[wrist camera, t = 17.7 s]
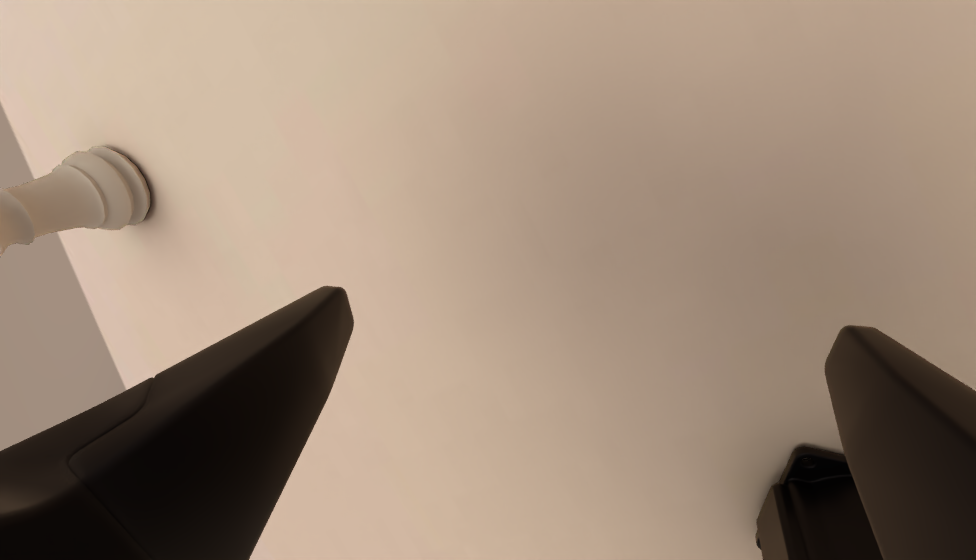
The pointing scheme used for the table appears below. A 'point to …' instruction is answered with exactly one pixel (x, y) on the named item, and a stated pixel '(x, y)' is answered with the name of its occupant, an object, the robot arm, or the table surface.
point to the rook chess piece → (75, 198)
